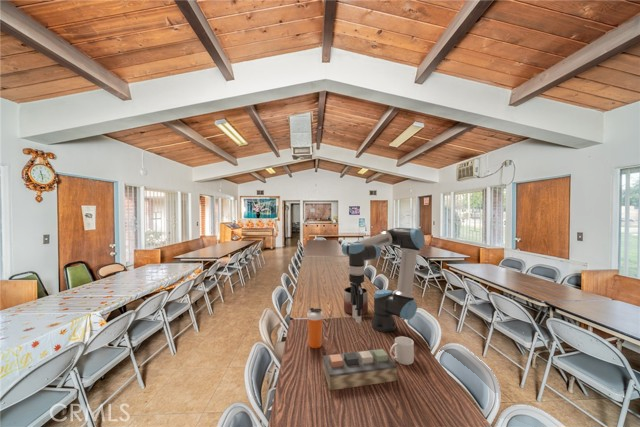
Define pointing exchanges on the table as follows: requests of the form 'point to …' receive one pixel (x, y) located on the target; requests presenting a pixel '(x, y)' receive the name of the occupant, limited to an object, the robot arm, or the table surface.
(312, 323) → the shaker bottle
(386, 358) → the key sage
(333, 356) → the key terracotta
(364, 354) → the key ivory
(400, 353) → the mug
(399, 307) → the robot arm
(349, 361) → the key dark gray
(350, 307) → the planter
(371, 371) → the console
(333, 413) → the table surface
